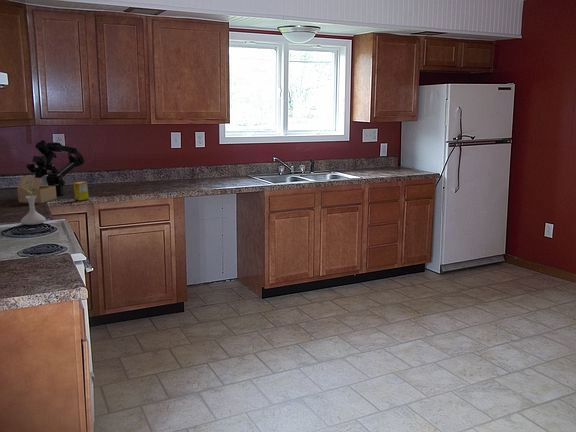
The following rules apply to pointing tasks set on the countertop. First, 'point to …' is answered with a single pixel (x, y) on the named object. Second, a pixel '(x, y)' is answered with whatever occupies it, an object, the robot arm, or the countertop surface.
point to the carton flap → (34, 185)
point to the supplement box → (81, 191)
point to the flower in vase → (31, 204)
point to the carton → (38, 194)
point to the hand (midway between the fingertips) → (35, 179)
